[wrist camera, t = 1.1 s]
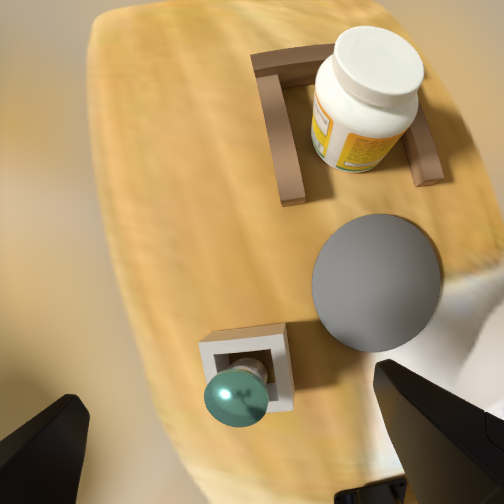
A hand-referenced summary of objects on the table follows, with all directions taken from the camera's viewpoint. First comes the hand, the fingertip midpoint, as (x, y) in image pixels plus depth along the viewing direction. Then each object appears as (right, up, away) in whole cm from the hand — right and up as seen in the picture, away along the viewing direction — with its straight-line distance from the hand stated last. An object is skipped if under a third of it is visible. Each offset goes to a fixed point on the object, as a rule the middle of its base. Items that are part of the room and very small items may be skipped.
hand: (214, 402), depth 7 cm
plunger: (+1, -3, +10) cm, 10 cm away
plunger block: (+1, -3, +12) cm, 12 cm away
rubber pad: (+9, +2, +11) cm, 14 cm away
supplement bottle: (+8, +12, +12) cm, 18 cm away
